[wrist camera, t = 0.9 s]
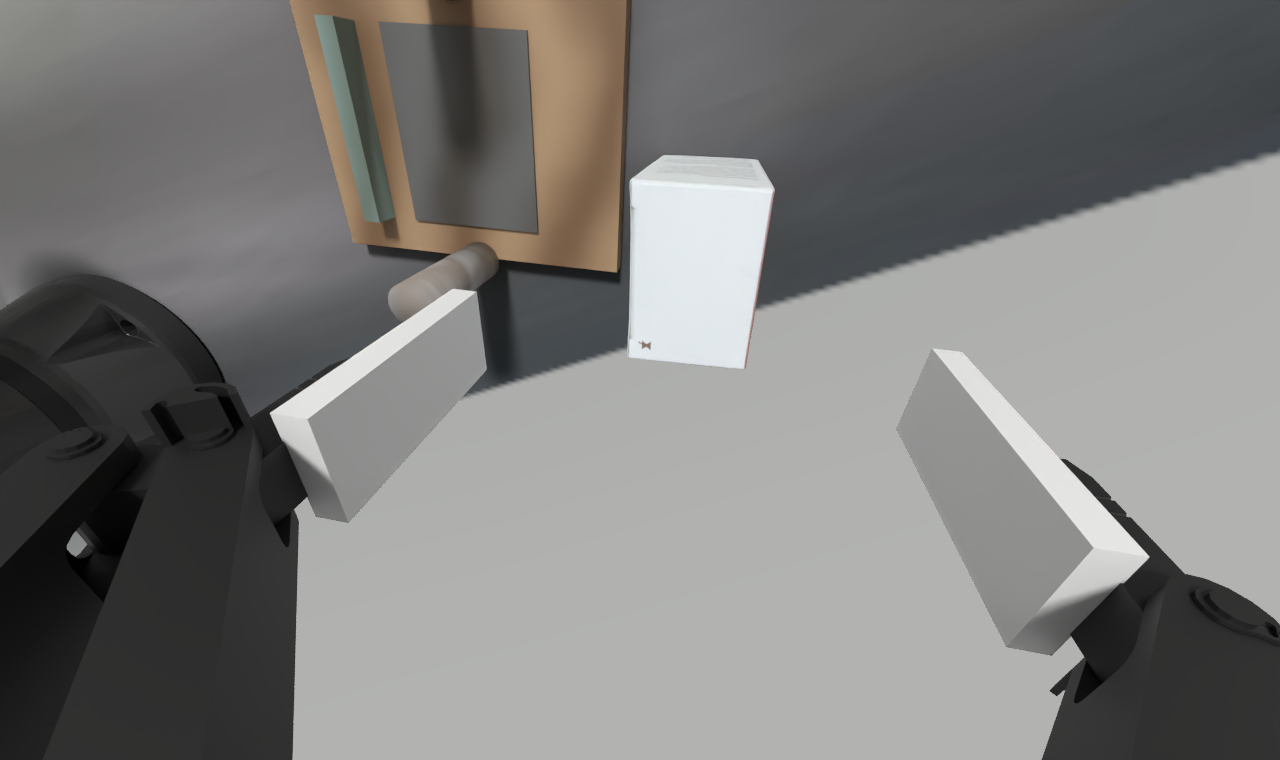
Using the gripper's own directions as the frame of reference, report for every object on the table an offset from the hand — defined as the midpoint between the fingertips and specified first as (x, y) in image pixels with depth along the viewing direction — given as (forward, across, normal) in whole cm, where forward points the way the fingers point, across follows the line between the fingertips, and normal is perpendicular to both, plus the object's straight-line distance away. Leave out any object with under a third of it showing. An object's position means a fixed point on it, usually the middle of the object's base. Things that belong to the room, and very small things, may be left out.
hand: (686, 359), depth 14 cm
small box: (+17, 0, 0) cm, 17 cm away
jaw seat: (+17, -14, +4) cm, 22 cm away
